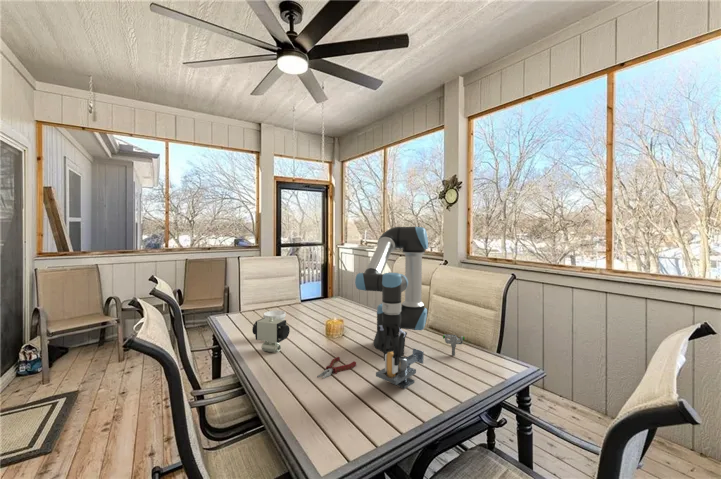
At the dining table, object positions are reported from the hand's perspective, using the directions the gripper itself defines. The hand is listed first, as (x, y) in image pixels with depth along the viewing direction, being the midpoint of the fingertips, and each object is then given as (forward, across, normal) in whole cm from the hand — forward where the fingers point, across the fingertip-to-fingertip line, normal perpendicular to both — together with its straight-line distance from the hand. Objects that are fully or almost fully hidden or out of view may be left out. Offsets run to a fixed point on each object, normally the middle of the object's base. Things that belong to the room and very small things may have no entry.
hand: (391, 371), depth 123 cm
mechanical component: (+7, +2, +48) cm, 49 cm away
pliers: (+8, -30, -4) cm, 31 cm away
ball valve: (+7, -68, -13) cm, 70 cm away
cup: (+7, -82, -3) cm, 82 cm away
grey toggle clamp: (+7, 0, +8) cm, 11 cm away
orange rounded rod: (+4, 0, 0) cm, 4 cm away
